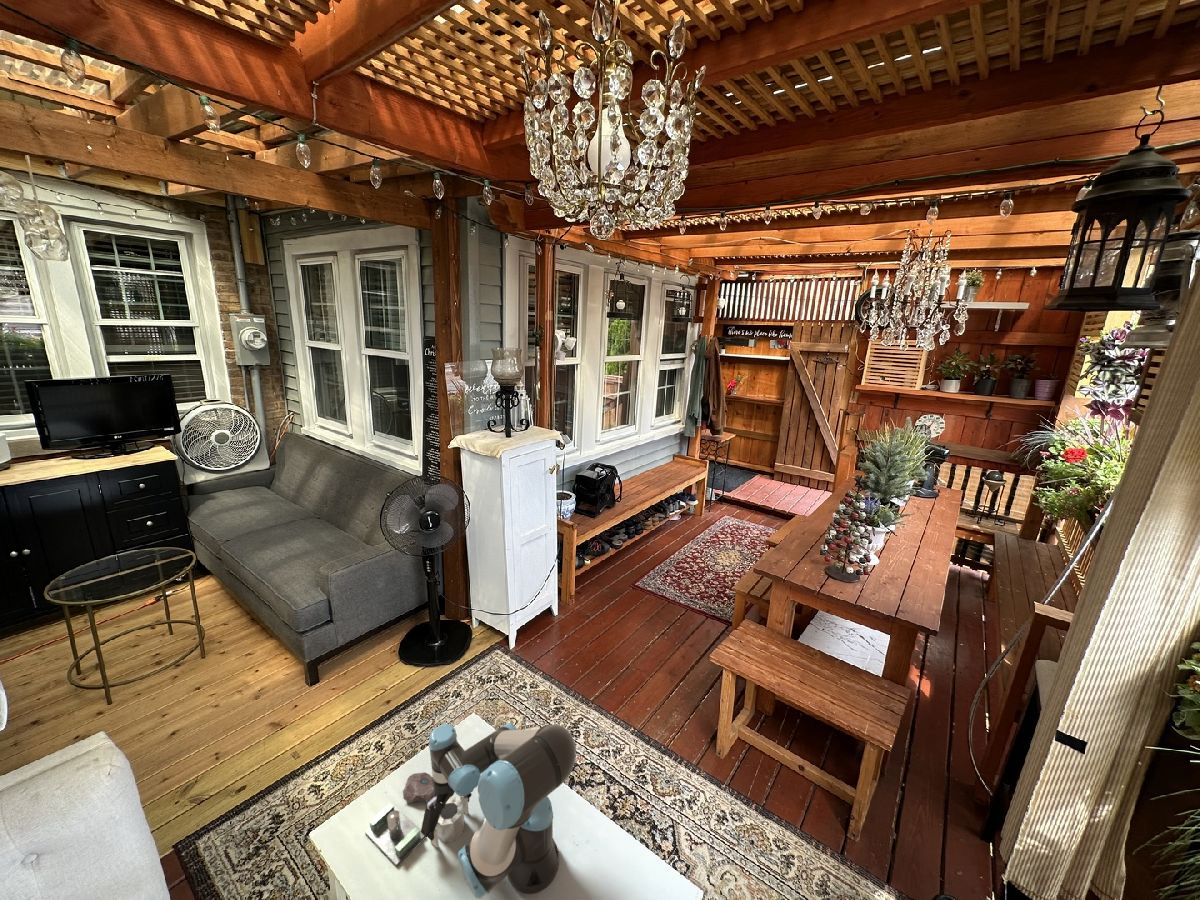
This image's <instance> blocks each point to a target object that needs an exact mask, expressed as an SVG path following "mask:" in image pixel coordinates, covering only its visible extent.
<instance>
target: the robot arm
mask: <svg viewBox="0 0 1200 900" xmlns="http://www.w3.org/2000/svg"><path fill="white" fill-rule="evenodd" d="M428 737H429V739H428V740H429V741H428V742H429V745H428V749H429V755H430V763H431V773H432V774H431V776H432V777H433V787H434V791H435V794H434V798H433V799H432V800H425V804H424V805H425V810H424V815H423V818H422V819H423V820H422V823H421V828H420V830H421V833H422V834H423V835H424V836H425V837H426V838H428V839H429V840H430V843H431V844H432V845H433V847H435V848H436V849H437V848H438V847H439V838H438V835H437V829H436V825H437V822H438V820H439V817H440V814H441V811H442V809H443V808H444V807H445V804H446V802H447V801H448V799H450V798H453V796H454V794H456V795H457V796H458V797H459V801H461V802H462V803H463V812H464V815H468V814H470V812H469V802H470V798H471V797H472V793H473V792H474V789H476V788H477V793H478V797H477V798H478V802H479V806H480V809H481V811H482V814H483V816H484V820H483V823H482V824H481V825H480V826H479V827H478V828H477V829H476V831H475V832H474V834H473V836H472V838H471V840H470V842H468V843H467V844H464V845H463V847H462V848H461V849H459V851H458V853H457V860H458V862H459V866H460V868H461V871H462V873H463V876H464V879H465V881H466V882H467V886H468V887H469V889H470V891H471V893H472V894H473V897H475V898H476V899H478V900H479V899H482V898H483V897H484V896H485V895H487V894H489V893H490V891H491V890H492V889H494V888H495V887H496V886H497V885H498V884H499V883H500V882H502V881H503V879H505V878H506V877H507V879H508V881H509V883H510V884H511V886H513V888H514V889H515V890H517V891H519V892H521V893H522V894H523V893H524V894H530V895H531V894H536V893H538V892H542V891H543V890H545V889H546V888H547V887H548V886H549V885H551V883H552V882H553V881H554V880H555V877H556V875H557V874H558V873H557V872H558V869H559V865H560V864H559V862H560V859H559V855H560V853H559V850H558V845H557V844H556V841H555V839H554V837H553V832H554V831H553V826H554V825H553V823H554V822H553V820H554V812H553V806H552V802H551V800H550V799H551V798H549V795H550V794H551V793H553V792H554V791H556V789H557V788H558V787H560V786H561V785H563V783H565V782H566V780H567V779H568V778H569V777H570V775H571V773H572V771H573V769H574V766H575V763H576V757H577V748H576V747H577V746H576V744H575V743H576V742H575V738H574V737H573V735H572V734H571V732H570V731H569V730H568V729H567V728H565V727H564V726H562V725H561V724H560V725H559V724H545V725H542V726H541V727H539V728H538V729H517V727H516V726H515V725H514V724H513V723H510V722H509V723H506V724H504V725H502V726H499V727H498V728H497V729H496V730H495V731H493V732H491V733H490V734H488V735H487V736H486V737H484V738H483V739H481V740H479V741H478V742H476V743H475V744H473V745H471V746H470V747H468V748H467V749H464V748H463V747H462V745H461V744H460V743H459V741H458V740H457V737H458V736H457V732H456V728H455V727H454V726H453V725H451V724H448V723H446V724H445V723H444V724H441V725H439V726H437V727H435V728H434V729H433V730H432V731H431V732H430V734H429V736H428Z"/></svg>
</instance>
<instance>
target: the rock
mask: <svg viewBox="0 0 1200 900" xmlns="http://www.w3.org/2000/svg"><path fill="white" fill-rule="evenodd" d="M434 794H435V791H434V787H433V775H432V774H430V773H428V772H424V771H423V772H417V773H412V774H411V775H409V776H408V777H407V780H406V783H405V786H404V788H403V790H402V796H403V800H405V802H407V803H408V804H409V803H413V802H423V801H425V802H426V801H427V800H429V801H431V800H432V799H433V798H434Z"/></svg>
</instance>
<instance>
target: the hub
mask: <svg viewBox="0 0 1200 900" xmlns="http://www.w3.org/2000/svg"><path fill="white" fill-rule="evenodd" d="M464 825H465V813H464V812H463V803H462V802H461V801H460V799H458V798H457V797H450V798H449V799H448V801H447V802H446V804H445V807H444V808H443V809H442V811H441V814H440V817H439V820H438V822H437V825H436V829H437V835H438V840H440V841H441V842H443V843H447V842H452V841H456V840H457V839H458V838H459V836H461V834H462V833H463V832H464V829H465V827H464Z"/></svg>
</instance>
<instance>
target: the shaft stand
mask: <svg viewBox="0 0 1200 900" xmlns="http://www.w3.org/2000/svg"><path fill="white" fill-rule="evenodd" d="M364 834H365V835H366V836H367V838H368V839H370V841H371V842H372V843H373V844H374V846H376V847H377V848H378V849H379V850H380V851H381V853H383V854H384V856H386V857H387V859H388V860H389V861H390V862H391V863H392V864H393V865H394V866H395V867H396V868H398V867H399V865H401V864H402V863H403V862H404V860H406V858H407V857H408V856H410V854H411V853H413V851H414V850H415V849H416V848H417V847H418V846H419V845H420V844H421V843H422V842H423V841H424V840H425V839H426V838H425V836H424V835H423V834H422V833H421V828H420V827H418V825H416V824H415V823H414V822H413V820H411V819H410V818H409V817H408V816H406V814H404V813H403V812H402V811H401V810H400V809H399V808H398V807H397V806H396V805H393V804H392V803H391V802H389V803H388V804H387V805H386V806H385V807H384V808H383V809H381V810H380V811H379V812H378V813H377V814H375V816H374V817H373V818H371V819H370V820H369V828H368V829H367V830H365V833H364ZM424 838H425V839H424ZM423 839H424V840H423ZM422 840H423V841H422ZM421 841H422V842H421ZM420 842H421V843H420ZM419 843H420V844H419ZM418 844H419V845H418ZM417 845H418V846H417ZM416 846H417V847H416ZM415 847H416V848H415ZM414 848H415V849H414ZM413 849H414V850H413ZM412 850H413V851H412Z"/></svg>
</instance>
